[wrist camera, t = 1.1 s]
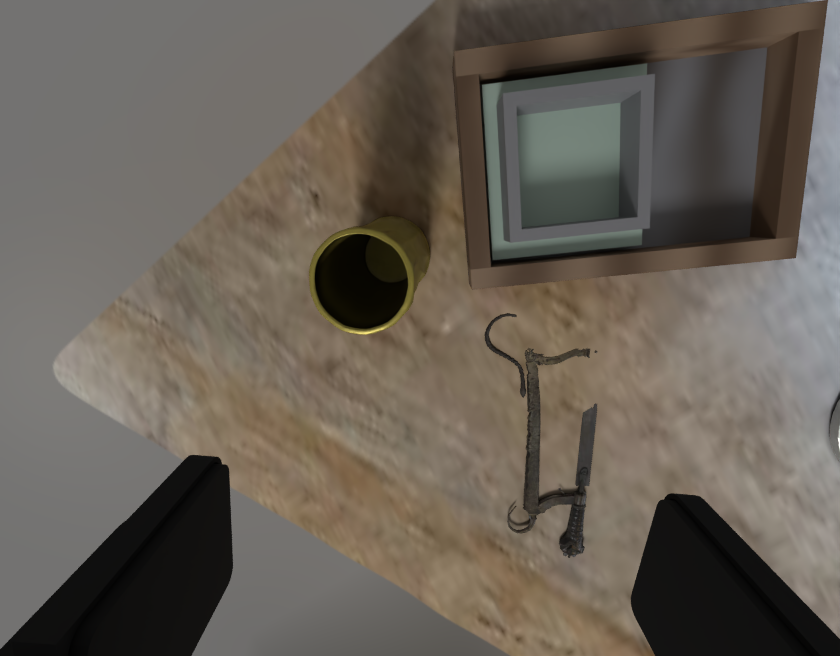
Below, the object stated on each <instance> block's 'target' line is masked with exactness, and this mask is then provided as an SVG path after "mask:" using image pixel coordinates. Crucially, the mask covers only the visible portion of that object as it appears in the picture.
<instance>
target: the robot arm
mask: <svg viewBox="0 0 840 656" xmlns="http://www.w3.org/2000/svg"><path fill="white" fill-rule="evenodd" d="M830 442H831V446H832V449H833V452H834V454H835V455H836V457H837V459H838V461H839V462H840V399H839V401H838V403H837V405H836V408H835V410H834V412H833V415H832V419H831V424H830ZM232 569H233V555H232V531H231V506H230V481H229V468H228V466H227V465H223V464H222V462H221V460H220V458H219V457H212V456H200V455H190V456H188V457H187V458H186V459H185V460H184V461H183V462H182V463H181V464H180V465H179V466H178V467H177V468H176V469H175V470H174V471H173V473H172V474H171V475H170V476H169V477H168V478H167V479H166V480H165V481H164V482H163V483H162V484H161V485H160V486H159V487H158V488H157V489H156V490H155V491H154V492H153V493H152V494H151V495H150V496H149V498H148V499H147V500H146V501H145V502H144V503H143V504H142V505H141V506H140V507H139V508H138V509H137V510H136V511H135V512H134V513H133V514H132V515H131V516H130V517H129V518H128V519H127V520H126V521H125V522H124V523H122V524H121V525H120V526H119V527H118V528H117V529H116V530H115V531H114V532H113V533H112V534H111V535H110V536H109V537H108V538H107V539H106V540H105V541H104V542H103V543H102V544H101V545H100V546H99V547H98V548H97V550H96V551H95V552H94V553H93V554H92V555H91V556H90V557H89V558H88V559H87V560H86V561H85V562H84V563H83V564H82V565H81V566H80V567H79V568H78V569H77V570H76V571H75V572H74V573H73V574H72V575H71V577H70V578H69V579H68V580H67V581H66V582H65V583H64V584H63V585H62V586H61V587H60V588H59V589H58V590H57V591H56V592H55V593H54V594H53V595H52V596H51V597H50V598H49V599H48V600H47V601H46V602H45V604H43V606H42V607H41V608H40V609H39V610H38V611H37V612H36V613H35V614H34V615H33V616H32V617H31V618H30V619H29V620H28V621H27V622H26V623H25V624H24V625H23V626H22V627H21V628H20V629H19V631H17V633H16V634H15V635H14V636H13V637H12V638H11V639H10V640H9V641H8V642H7V643H6V644H5V645H4V646H3V647H2V648H1V649H0V656H191V655H192V653H193V651H194V650H195V648H196V646H197V643H198V642H199V640H200V638H201V636H202V634H203V632H204V630H205V628H206V626H207V624H208V622H209V621H210V619H211V617H212V615H213V613H214V611H215V609H216V607H217V605H218V603H219V601H220V600H221V598H222V596H223V594H224V592H225V590H226V588H227V586H228V584H229V581H230V578H231V574H232ZM631 606H632V610H633V613H634V616H635V618H636V620H637V622H638V624H639V625H640V627H641V629H642V631H643V633H644V635H645V637H646V639H647V641H648V643H649V645H650V646H651V648H652V650H653V652H654V654H655V656H840V639H839V638H838V637H837V636H836V635H835V634H834V633H833V632H832V631H831V630H830V629H829V627H828V626H827V625H826V624H825V623H824V622H823V621H822V620H821V619H820V618H819V617H818V616H817V615H816V614H815V613H814V612H813V611H812V610H811V609H810V608H809V607H808V606H807V605H806V604H805V603H804V602H803V601H802V600H801V599H800V598H799V597H798V596H797V595H796V594H795V593H794V592H793V591H792V590H791V589H790V587H789V586H788V585H787V584H786V583H785V582H784V581H783V580H782V579H781V578H780V577H779V576H778V575H777V574H776V573H775V572H774V571H773V570H772V569H771V568H770V567H769V566H768V565H767V564H766V563H765V562H764V561H763V560H762V559H761V558H760V557H759V556H758V555H757V554H756V553H755V552H754V551H753V550H752V549H751V548H750V546H749V545H748V544H747V543H746V542H745V541H744V540H743V539H742V538H741V537H740V536H739V535H738V534H737V533H736V532H735V531H734V530H733V529H732V528H731V527H730V526H729V525H728V524H727V523H726V522H725V521H724V520H723V519H722V518H721V517H720V516H719V515H718V514H717V513H716V512H715V511H714V510H713V509H712V508H711V506H710V505H709V504H708V503H707V502H706V501H705V500H704V499H702V498H701V497H700V496H696V495H685V494H673V493H671V494H668V495H667V496H666V497H665V499H664V500H660V501H659V502H658V504H657V507H656V510H655V514H654V517H653V521H652V524H651V528H650V531H649V535H648V538H647V542H646V545H645V549H644V552H643V556H642V559H641V563H640V566H639V570H638V573H637V577H636V580H635V584H634V587H633V591H632V595H631Z"/></svg>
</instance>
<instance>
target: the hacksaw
mask: <svg viewBox="0 0 840 656" xmlns="http://www.w3.org/2000/svg"><path fill="white" fill-rule="evenodd" d="M505 316H512V317H517V316H516V315H515V314H509V313H507V314H503V315H500V316H498V317H496V318H495V319H494V320H492V321H491V322H490V324H489V325H488V327H487V329H486V332H485V341H486V344H487V346H488V347H489V349H490V350H492V351H493V352H495V353H496V354H499V355H500V356H503V357H504V358H507V359H508V360H510V361H511V362H513V363H515V365H516V366H518V369H519V372H520V374H521V375H520V377H521V389H520V394H521V395H522V397H523V398H524V396H525V394H526V389H525V379H524V373H523V369H522V367H521V365H520V364H519V363H518V361H516V360H514V358H511V357H510V356H509V355H507V354H505V353H503V352H502V351H500V350H497V349H496V348H495V347H493V346H492V345H491V342H490V340H489V331H490V329H491V326H492V325H493V323H494V322H495V321H497V320H498V319H500V318H502V317H505ZM527 350H529V351H530V350H531V349H530V348H528V349H527ZM527 350H525V354H526V355H527V356H526V355H525V356H526V358H527V359H526V358H525V359H526V360H527V361H528V362H526V366H527V370H528V374H527V405H528V410H527V411H528V412H530V413H529V416H528V425H527V426H528V428H527V430H528V435H527V447H526V450H527V456H526V472H525V488H524V507H523V509H524V510H526V511H527V512H528V514H529V518H530V523H529V525H528V527H526V528H524V529H522V530H515V529H513V528H512V527H511V526H510V523H509V516H510V514H511V513H512V511H513V510H514V509H515V507H516V506H515V507H514V508H513V509H512V510H511V512H510V513H509V515H508V520H507V522H508V526H509V528H510V529H511V530H512V531H514V532H516V533H525V532H528V531H530V530H531V529H532V527H533V526H534V524H535V521H536V519H537V518H536V515H538V514H540V513H544V512H545V511H546V510H547V509H549V508H551V506H555V505H559V504H572V508H571V514H570V519H569V523H568V529H567V532H566V534H565V535H564V536H563V538H562V539H561V540H560V541H559V544H560V549H561V550H562V551H563V552H564V553H563V555H564V556H567V555H568V558H570V556H571V555H572V556H573V557H575V556H576V555H577V554H580V553H583V551H584V548H585V547H584V546H583V543H582V531H583V519H584V508H585V507H586V504H585V501H586V493H585V492H583V491H584V486H589V482H590V481H589V480H590V472H591V471H590V470H591V469H590V468H591V464H592V463H591V462H592V461H591V460H592V454H593V453H592V452H593V443H594V442H593V441H594V433H595V426H596V425H595V424H596V423H595V422H596V415H597V414H596V413H597V412H596V411H597V404H594V407H593V408H592V407H591V408H590V409H589V410H587V411H585V412H583V417H582V426H581V436H580V445H579V455H578V464H577V475H576V486H579V488H578V491H574V493H573V494H565V493H564V492H562V491H561V488H559V490H560V491H561V492H562V493H563V494H559V495H552V496H549V497H546V498H544V499H542V500H540V501H539V502H538V490H539V448H540V395H539V387H538V386H539V380H538V374H537V373H538V368H537V365H536V363H537V364H538V365H541V364H542V365H543V364H545V365H550V364H558V363H560V362H562V361H564V360H566V359H568V358H571V357H573V356H576V355H577V356H578V357H579V356H585V357H586V356H587V357H588V358H590V357H589V354H590V349H582V350H577V349H574V350H572V351H569V352H567V353H564V354H562V355H559V356H555V357H543V354H535V353H533V352H532V351H533V350H534V349H532V350H531V351H530V352H531V353H530V352H527ZM583 350H584V351H583ZM595 353H597V351H595ZM534 355H535V356H534Z"/></svg>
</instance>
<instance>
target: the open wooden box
mask: <svg viewBox="0 0 840 656" xmlns="http://www.w3.org/2000/svg"><path fill="white" fill-rule="evenodd" d="M827 3H828V0H824V1H817V2H809V3H802V4H795V5H787V6H780V7H773V8H765V9H758V10H751V11H743V12H736V13H729V14H721V15H714V16H707V17H700V18H692V19H685V20H678V21H670V22H663V23H656V24H648V25H641V26H634V27H626V28H619V29H612V30H604V31H597V32H590V33H583V34H575V35H568V36H561V37H553V38H546V39H539V40H531V41H524V42H517V43H509V44H502V45H495V46H487V47H480V48H473V49H466V50H458V51H454V57H453V80H454V93H455V106H456V119H457V132H458V145H459V158H460V171H461V184H462V197H463V210H464V223H465V236H466V249H467V262H468V275H469V284H470V286H471V289H472V290H473V289H484V288H494V287H504V286H514V285H525V284H535V283H545V282H555V281H566V280H576V279H586V278H596V277H607V276H617V275H627V274H637V273H648V272H658V271H668V270H678V269H689V268H699V267H709V266H719V265H730V264H740V263H750V262H760V261H771V260H781V259H791V258H796V253H797V245H798V237H799V229H800V220H801V212H802V204H803V196H804V188H805V180H806V172H807V164H808V156H809V148H810V140H811V132H812V124H813V116H814V108H815V100H816V92H817V84H818V76H819V68H820V60H821V52H822V44H823V36H824V27H825V19H826V11H827ZM646 63H647V75H650V74H655V90H654V119H653V148H652V177H651V206H650V228H647V229H642V245H637V246H627V247H617V248H607V249H598V250H588V251H578V252H568V253H558V254H549V255H539V256H529V257H519V258H509V259H500V260H492V259H491V254H490V238H489V222H488V206H487V190H486V173H485V157H484V141H483V125H482V109H481V93H480V89H481V86H482V85H485V84H493V83H500V82H508V81H516V80H523V79H531V78H539V77H546V76H554V75H562V74H569V73H577V72H585V71H592V70H600V69H607V68H615V67H623V66H630V65H638V64H646Z"/></svg>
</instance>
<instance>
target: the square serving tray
mask: <svg viewBox="0 0 840 656" xmlns="http://www.w3.org/2000/svg"><path fill="white" fill-rule="evenodd" d="M654 90H655V74H650V75H647V63H646V64H638V65H630V66H623V67H615V68H607V69H600V70H592V71H585V72H577V73H569V74H562V75H554V76H546V77H539V78H531V79H523V80H516V81H508V82H500V83H493V84H485V85H482V86H481V89H480V93H481V109H482V125H483V141H484V157H485V173H486V190H487V206H488V222H489V238H490V254H491V259H492V260H500V259H509V258H519V257H529V256H539V255H549V254H558V253H568V252H578V251H588V250H598V249H607V248H617V247H627V246H637V245H642V229H647V228H650V206H651V177H652V148H653V119H654Z"/></svg>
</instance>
